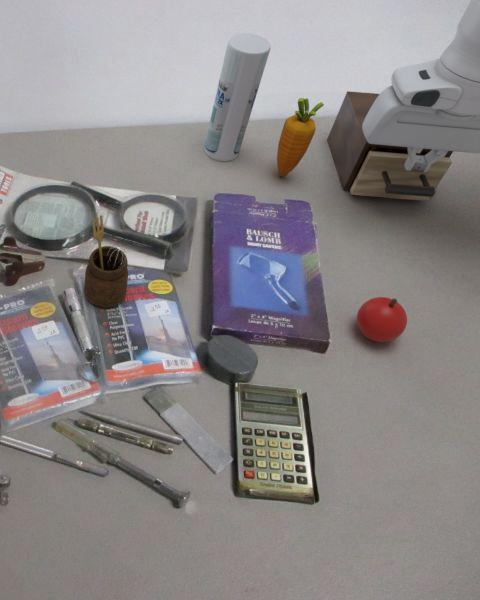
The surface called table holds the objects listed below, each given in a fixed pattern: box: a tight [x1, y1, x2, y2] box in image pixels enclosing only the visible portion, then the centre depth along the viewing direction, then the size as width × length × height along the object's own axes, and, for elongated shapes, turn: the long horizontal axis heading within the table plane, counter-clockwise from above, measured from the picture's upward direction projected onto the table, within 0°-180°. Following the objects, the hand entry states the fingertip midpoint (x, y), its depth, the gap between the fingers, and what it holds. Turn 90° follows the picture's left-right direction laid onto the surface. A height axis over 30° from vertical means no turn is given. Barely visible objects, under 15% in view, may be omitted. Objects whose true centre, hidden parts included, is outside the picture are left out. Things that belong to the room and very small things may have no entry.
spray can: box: [203, 32, 272, 162], centre depth 99 cm, size 6×6×20 cm
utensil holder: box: [83, 214, 129, 309], centre depth 80 cm, size 6×6×12 cm
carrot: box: [276, 97, 325, 178], centre depth 97 cm, size 5×5×15 cm
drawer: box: [349, 147, 453, 202], centre depth 98 cm, size 18×13×8 cm
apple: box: [356, 296, 408, 343], centre depth 78 cm, size 6×6×7 cm
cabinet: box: [326, 90, 454, 192], centre depth 102 cm, size 15×14×10 cm
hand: (414, 169), depth 91 cm, fingers closed
